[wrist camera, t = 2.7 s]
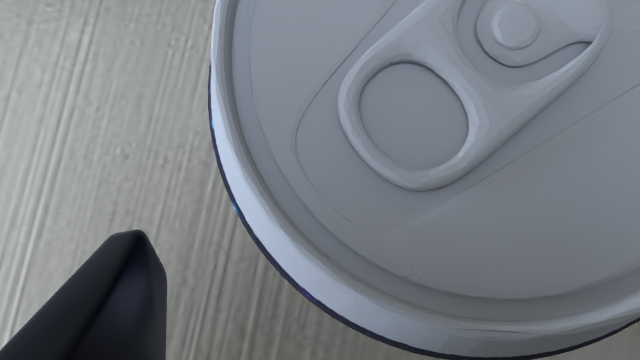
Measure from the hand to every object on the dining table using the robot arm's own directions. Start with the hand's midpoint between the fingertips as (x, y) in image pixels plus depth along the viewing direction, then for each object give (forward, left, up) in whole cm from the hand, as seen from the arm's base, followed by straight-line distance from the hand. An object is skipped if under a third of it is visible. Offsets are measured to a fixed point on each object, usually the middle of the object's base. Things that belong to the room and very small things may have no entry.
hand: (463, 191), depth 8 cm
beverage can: (+1, 0, -9) cm, 9 cm away
